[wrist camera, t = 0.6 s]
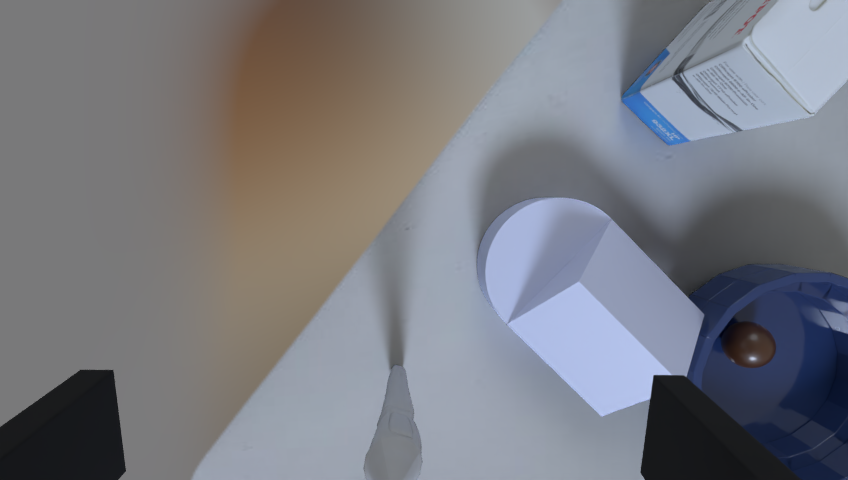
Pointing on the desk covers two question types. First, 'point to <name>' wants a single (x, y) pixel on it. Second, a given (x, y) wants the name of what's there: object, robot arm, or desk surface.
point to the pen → (395, 435)
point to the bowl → (782, 363)
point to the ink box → (744, 68)
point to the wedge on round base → (587, 300)
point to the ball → (748, 344)
